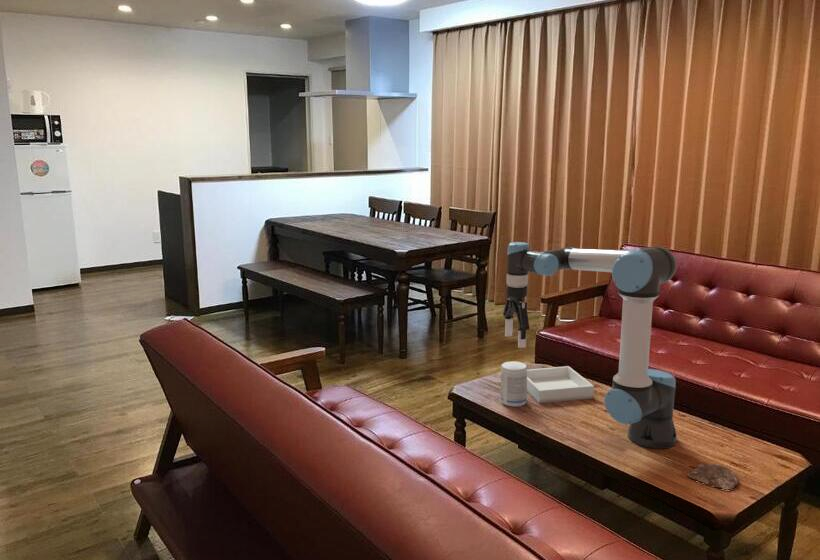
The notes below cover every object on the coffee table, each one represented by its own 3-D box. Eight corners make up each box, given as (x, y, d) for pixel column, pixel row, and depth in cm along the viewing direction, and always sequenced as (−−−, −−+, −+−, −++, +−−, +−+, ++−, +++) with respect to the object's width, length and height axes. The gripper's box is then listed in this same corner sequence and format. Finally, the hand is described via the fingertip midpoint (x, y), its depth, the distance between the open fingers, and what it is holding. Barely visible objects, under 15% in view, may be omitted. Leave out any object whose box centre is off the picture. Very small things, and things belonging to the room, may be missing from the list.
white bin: (593, 398, 249) (594, 385, 248) (539, 403, 245) (539, 390, 244) (568, 377, 270) (568, 366, 269) (517, 381, 266) (518, 370, 265)
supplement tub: (531, 402, 246) (532, 365, 242) (516, 409, 239) (517, 371, 236) (510, 395, 253) (511, 359, 249) (495, 402, 246) (496, 365, 243)
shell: (701, 464, 200) (702, 454, 199) (744, 480, 191) (746, 469, 190) (684, 478, 192) (685, 467, 191) (728, 495, 183) (730, 483, 182)
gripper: (540, 292, 225) (537, 351, 230) (514, 277, 249) (512, 330, 253) (519, 294, 223) (517, 353, 228) (495, 278, 247) (494, 332, 252)
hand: (515, 341), depth 241 cm, fingers open, 13 cm apart
